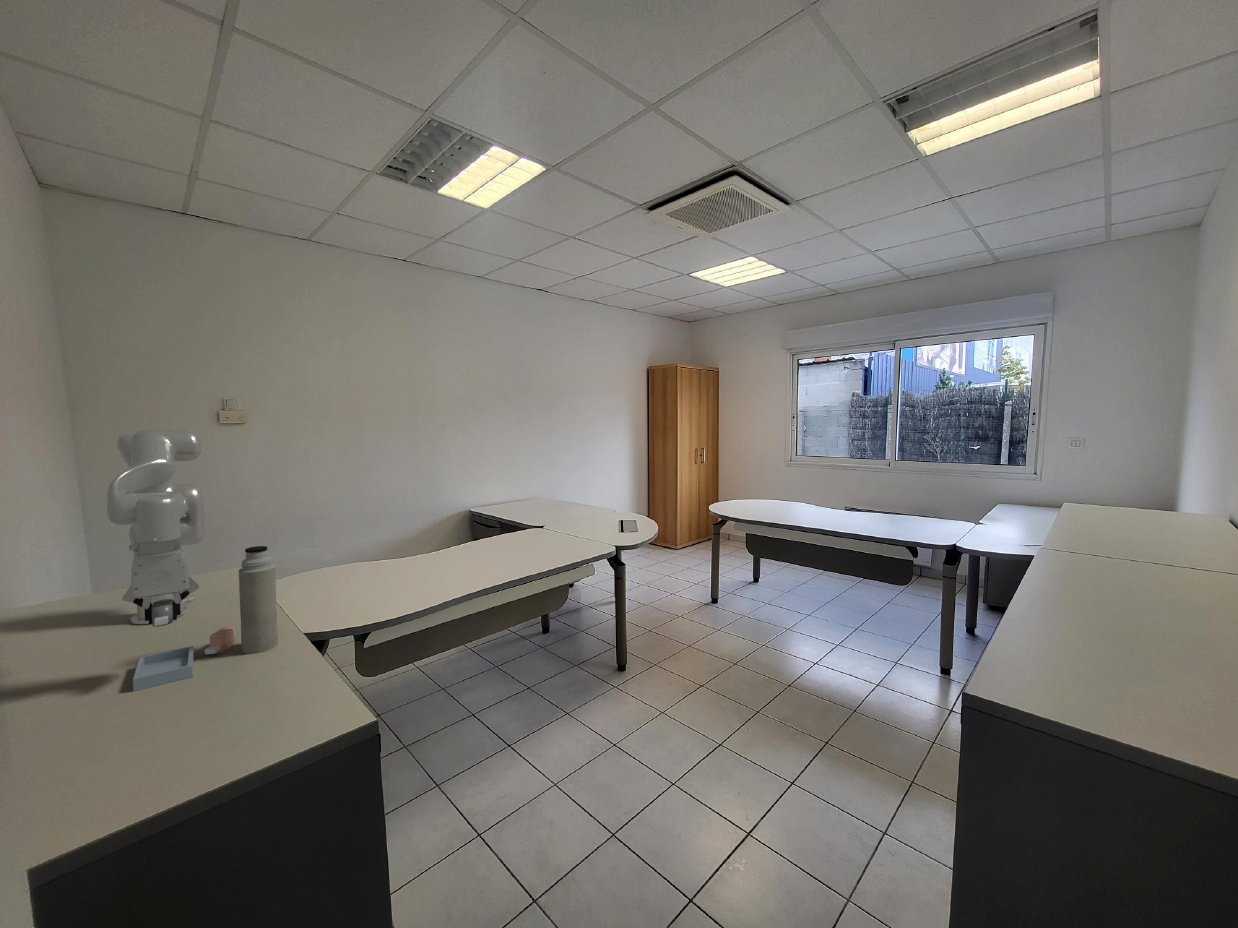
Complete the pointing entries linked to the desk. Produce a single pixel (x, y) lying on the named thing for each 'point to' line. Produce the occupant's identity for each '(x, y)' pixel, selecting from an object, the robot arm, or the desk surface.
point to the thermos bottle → (258, 601)
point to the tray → (164, 668)
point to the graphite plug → (162, 612)
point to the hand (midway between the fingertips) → (163, 619)
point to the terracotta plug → (221, 640)
